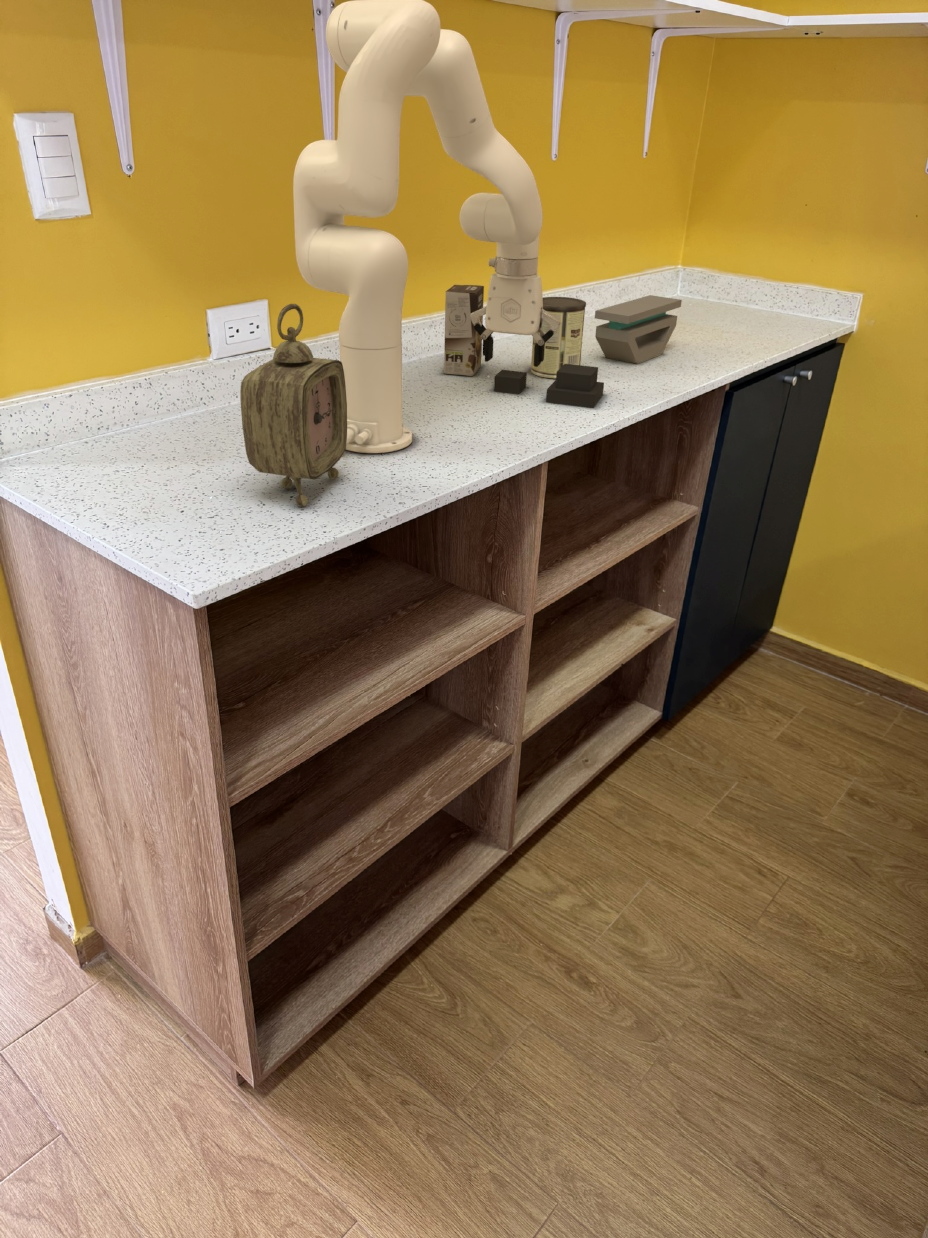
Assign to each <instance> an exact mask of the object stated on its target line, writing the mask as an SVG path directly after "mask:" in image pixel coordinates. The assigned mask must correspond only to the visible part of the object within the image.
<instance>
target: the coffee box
mask: <svg viewBox="0 0 928 1238" xmlns="http://www.w3.org/2000/svg"><path fill="white" fill-rule="evenodd" d="M484 295H485V285H478V284H476V285H475V284H453V285H452V286H451V287H450V288H447V290H445V302H444V303H445V304H444V305H445V306H444V348H443V349H444V354H443V355H444V356H443V358H444V360H443V374H444V375H456V376H457V375H458V376H467V377H473V376H475V374H476V373H477V372H478V370H479V369H480V368H481V367H482V357H483V340H482V339H481V336H480V335H479V334H478V333H477V331H476V330H475V329H474V325H473V323H472V321H471V319H470V314H471V313H473V312H475V311H477V310H479V309H481V308H483V307H484V297H485V296H484ZM480 322H481V323H482V324H483V325H484V315H483V316H481V317H480Z"/></svg>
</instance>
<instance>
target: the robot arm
mask: <svg viewBox="0 0 928 1238" xmlns="http://www.w3.org/2000/svg"><path fill="white" fill-rule="evenodd" d="M325 42H326V46H327V49H328V50H327V51H328V52H329V55H330V57H331V59H332V60H333V61H334V63H335V64H336V65H337V67H339V68H340V69H341V70H342V71H343V72H345V73H346V74H345V76H344V79H343V81H342V84H341V88H340V91H339V95H338V108H337V111H338V112H337V113H338V114H337V136H336V139H319V140H315V141H313V142H311V143H309V144H307V146H305V147H304V148H303V150H301V152H300V153H299V156H298V158H297V161H296V163H295V167H294V171H293V180H292V187H293V188H292V189H293V190H292V193H293V194H292V195H293V221H294V224H293V225H294V245H295V247H294V248H295V249H294V250H295V258H296V259H295V260H296V264H297V268H298V271H299V273H300V275H301V277H302V279H303V280H304V281H305V283H306V284H307V285H309V286H310V287H312V288H314V289H317V290H320V291H324V292H330V293H336V294H340V295H345V296H348V299H347V300H348V301H347V303H346V305H345V308H344V310H343V312H342V314H341V317H340V320H339V324H338V343H339V347H338V348H339V361H341V362H342V365H343V370H344V376H345V386H346V399H347V441H346V450H345V451H348V452H349V451H350V452H354V453H361V454H383V453H391V452H396V451H399V450H402V449H405V448H407V447H408V446H409V445H411V444H412V442H413V433H412V431H411V430H410V429H409V428H407V427H405V426H403V425H404V424H403V423H404V422H403V421H404V419H403V417H404V416H403V340H402V339H403V336H402V334H403V333H402V331H403V330H402V329H403V328H402V327H403V325H402V324H403V306H404V305H403V304H404V296H405V290H406V285H407V279H408V274H409V273H408V272H409V258H408V254H407V250H406V247H405V246H404V244H403V242H401V241H400V239H398V237H396V236H395V235H394V234H392V233H390V232H388V231H386V230H382V229H378V228H374V227H365V226H358V225H345V216H349V217H350V216H352V217H359V218H360V217H361V218H380V217H385V216H388V214H390V213H391V212H392V211H393V210H394V209H395V207H396V205H397V203H398V198H399V188H400V187H399V186H400V148H401V122H402V121H401V120H402V110H403V104H404V100H405V98H406V97H423V98H424V99H425V100H426V102H427V105H428V108H429V111H430V113H431V116H432V119H433V122H434V124H435V125H434V126H435V128H436V130H437V133H438V134H437V135H438V137H439V139H440V142H441V146H442V148H443V151H444V152H445V153H446V154H447V155H448V157H450V158H451V159H452V160H454V161H455V162H457V163H459V164H460V165H462V166H464V167H465V168H467V169H468V170H470V171H472V172H474V173H476V174H478V175H480V176H481V177H482V178H485V179H486V180H488V181H489V183H491V184H492V185H493V186H494V187H495V188H496V189H497V190H498V191H499V192H500V193H493V192H477V193H474V194H472V195H470V196H469V197H468V198H467V199H465V200H464V202H463V204H462V205H461V208H460V210H459V219H458V220H459V224H460V227H461V230H462V231H463V233H464V234H465V235H466V236H467V237H469V238H471V239H473V240H474V241H475V240H476V241H480V242H489V243H496V255H495V257H493V258H489V259H488V267H491V268H494V273H492V274H491V275H490V280H489V285H488V290H487V299H486V305H484V306H483V308H481V309H479V310H477V311H475V312H473V313H471V314H470V319H471V321H472V323H473V325H474V329H475V330H476V331H477V333H478V334H479V335H480V336H481V339H482V357H483V356H484V362H487V363H488V362H490V361H491V360H493V357H494V337H493V336H492V335H493V334H494V333H499V334H509V335H518V336H519V335H520V336H532V339H533V338H534V339H535V340H536V342H537V344H536V345H535V347H534V364H533V365H534V367H538V366H539V365H540V364H541V362H543V360H544V349H545V342H546V341H548V340H549V339H550V338H551V337H552V336H553V335H554V334H555V332H556V330H557V329H558V327H559V325H560V323H561V321H560V320H559V319H557V318H556V317H554V316H553V315H551V314H550V313H548V312H547V311H545V310H543V297H544V295H543V285H542V284H543V283H542V278H541V275H540V274H538V271H539V270H538V269H539V268H538V267H539V252H540V251H539V250H540V234H541V231H542V227H543V221H544V220H543V219H544V215H543V206H542V199H541V196H540V193H539V190H538V186H537V185H538V184H537V182H536V179H535V176H534V173H533V172H532V169H531V168H530V166H529V164H528V163H527V162H526V160H525V159H524V158H523V157H522V156H521V154H520V153H519V152H518V151H517V149H515V147H514V146H513V145H512V144H511V143H510V141H508V140H507V139H506V138H505V137H504V136H503V135H502V134H501V133H500V132H499V131H498V130H497V128H496V127H495V124H494V121H493V117H492V114H491V111H490V108H489V107H490V106H489V104H488V102H487V98H486V94H485V91H484V86H483V84H482V81H481V76H480V73H479V70H478V67H477V63H476V59H475V56H474V53H473V50H472V47H471V45H470V43H469V41H468V40H467V38H466V37H465V36H464V35H463V34H461V33H460V32H458V31H455V30H453V29H445V28H444V29H443V28H442V27H441V19H440V15H439V13H438V12H437V10H436V8H435V7H434V5H432V4H431V3H429V2H427V1H426V0H348V1H344V2H341V3H340V4H338V5H336V6H335V8H333V10H332V11H331V13H330V14H329V16H328V18H327V22H326V26H325ZM481 316H483V317H484V316H485V318H484V320H485V321H484V322H485V323H483V324H482V323H481V322H480V317H481ZM543 320H545V321H546V322H548V323H549V324H550V328H549V330H548V332H547V333H546V334H544V332H543V331H542V330H541V327H542V322H543Z"/></svg>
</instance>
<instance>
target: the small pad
mask: <svg viewBox="0 0 928 1238" xmlns="http://www.w3.org/2000/svg"><path fill="white" fill-rule="evenodd" d="M527 373H528V372H526V371H519V370H510V369H501V370H500V371H499V372H497V373H496V374H495V375H494V382H493V384H494V385H493V392H497V393H505V394H514V395H520V394H521V393H522V392H523V391H524V390H525V389H526V388H527V375H528V374H527Z"/></svg>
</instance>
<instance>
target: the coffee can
mask: <svg viewBox="0 0 928 1238" xmlns="http://www.w3.org/2000/svg"><path fill="white" fill-rule="evenodd" d="M586 307H587V302H586V301H585V300H583V299H581V298H575V297H567V296H545V297H544V296H543V310H545V311H547V312H548V313H550V314H551V315H553V316H554V317H556V318H557V319H559V320H560V321H561V323H560V325H559V327H558V329H557V330H556V332H555V334H554V335H553V336H552V337H551V338H550V339H549V340H548V341H546V342H545V349H544V360H543V362H541V364H540V365H539V366H538V367H534V365H533V364H534V347H535V345H536V344H537V342H536V340H535V339H534V338H533V337H532V345H531V346H532V347H531V365H530V374H532V375H534V376H537V377H540V378H546V379H556V373H557V371H558V370H559V369H560V368H561V367H562V366H563V365H564V364H572V365H581V361H582V360H581V359H582V348H583V346H582V345H583V337H584V336H583V335H584V327H585V326H584V324H585V315H586V313H585V312H586ZM549 328H550V324H549V323H548V322H546V321H545V320H543V322H542V327H541V330H542V331H543V332H544V334H546V333H547V332H548V330H549Z"/></svg>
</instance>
